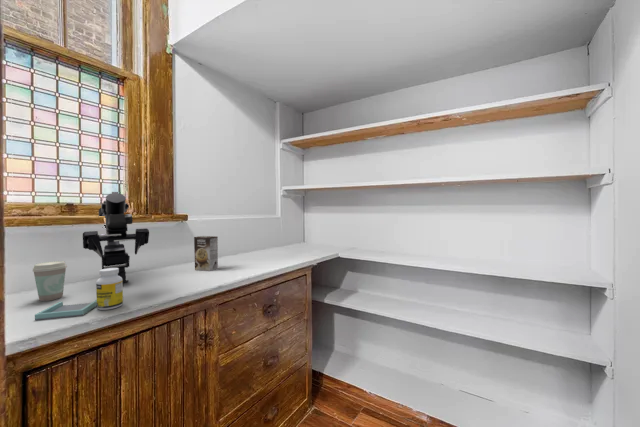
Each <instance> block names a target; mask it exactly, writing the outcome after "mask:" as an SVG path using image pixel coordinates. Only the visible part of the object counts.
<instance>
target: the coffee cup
mask: <svg viewBox="0 0 640 427" xmlns="http://www.w3.org/2000/svg"><path fill="white" fill-rule="evenodd" d="M67 267H68V266H67V264H66V262H65V261H63V260H58V261H57V260H56V261H55V260H54V261H46V262H39V263H36V264H34V266H33V268H32V272H33V276H34V281H35V286H36V290H37V295H38V299H39V301H41V302H46V301H47V302H49V301H53V300H58V299H61V298H62V297H63V296H64V290H65V289H64V288H65V278H66V270H67Z"/></svg>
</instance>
